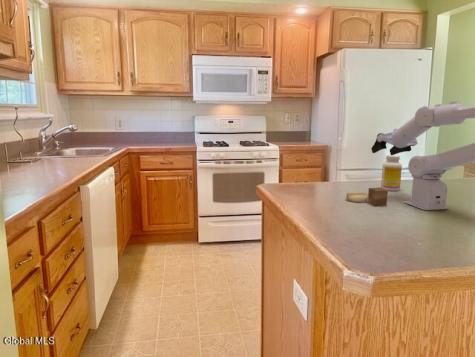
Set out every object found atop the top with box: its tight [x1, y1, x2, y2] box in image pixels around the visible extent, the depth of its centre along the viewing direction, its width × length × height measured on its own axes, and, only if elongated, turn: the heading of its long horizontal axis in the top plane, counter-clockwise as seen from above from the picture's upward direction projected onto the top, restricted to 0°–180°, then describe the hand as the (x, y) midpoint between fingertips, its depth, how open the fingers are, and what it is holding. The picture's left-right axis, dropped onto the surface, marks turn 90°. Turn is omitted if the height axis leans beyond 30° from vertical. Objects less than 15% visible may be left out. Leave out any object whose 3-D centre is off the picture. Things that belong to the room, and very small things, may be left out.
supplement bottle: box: [380, 154, 403, 192], centre depth 133 cm, size 7×7×13 cm
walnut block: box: [367, 187, 388, 207], centre depth 110 cm, size 4×4×5 cm
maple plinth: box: [345, 191, 368, 204], centre depth 116 cm, size 7×7×2 cm
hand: (381, 151), depth 125 cm, fingers open, 7 cm apart
